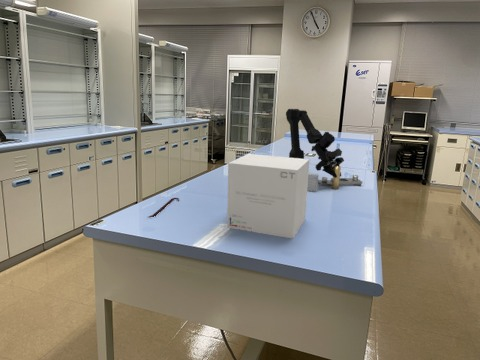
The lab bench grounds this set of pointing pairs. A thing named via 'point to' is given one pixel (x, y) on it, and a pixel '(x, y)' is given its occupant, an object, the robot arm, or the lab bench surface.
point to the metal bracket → (341, 181)
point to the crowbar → (163, 207)
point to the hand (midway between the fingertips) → (338, 176)
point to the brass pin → (336, 180)
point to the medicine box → (312, 182)
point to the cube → (267, 194)
